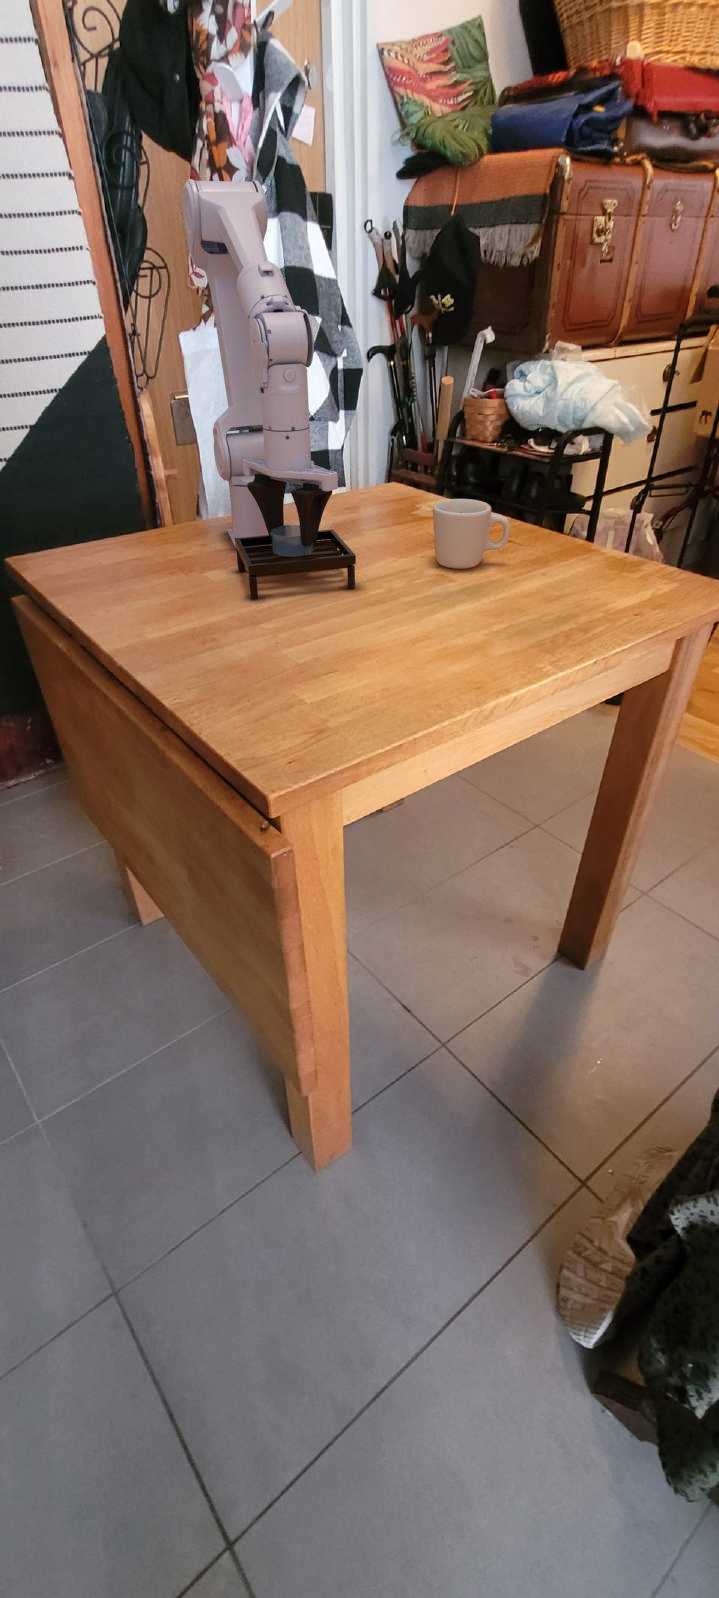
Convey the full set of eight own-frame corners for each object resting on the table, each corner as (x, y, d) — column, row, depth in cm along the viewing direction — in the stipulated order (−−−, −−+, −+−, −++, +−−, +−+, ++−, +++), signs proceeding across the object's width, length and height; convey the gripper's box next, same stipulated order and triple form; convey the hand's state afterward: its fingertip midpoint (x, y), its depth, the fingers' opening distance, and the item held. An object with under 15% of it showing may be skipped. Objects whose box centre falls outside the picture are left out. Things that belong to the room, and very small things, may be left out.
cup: (504, 556, 112) (510, 499, 108) (507, 574, 106) (514, 514, 101) (430, 554, 113) (433, 497, 108) (429, 572, 107) (432, 513, 102)
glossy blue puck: (291, 541, 106) (290, 522, 104) (321, 548, 103) (321, 529, 101) (263, 551, 102) (262, 531, 101) (294, 559, 99) (293, 539, 98)
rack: (237, 570, 108) (234, 537, 106) (333, 560, 111) (333, 529, 109) (251, 600, 99) (248, 565, 96) (356, 589, 102) (355, 555, 99)
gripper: (352, 428, 93) (354, 542, 101) (266, 417, 100) (274, 523, 108) (314, 437, 88) (319, 555, 96) (227, 424, 96) (237, 535, 103)
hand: (292, 539), depth 102 cm, fingers closed on glossy blue puck, 5 cm apart
